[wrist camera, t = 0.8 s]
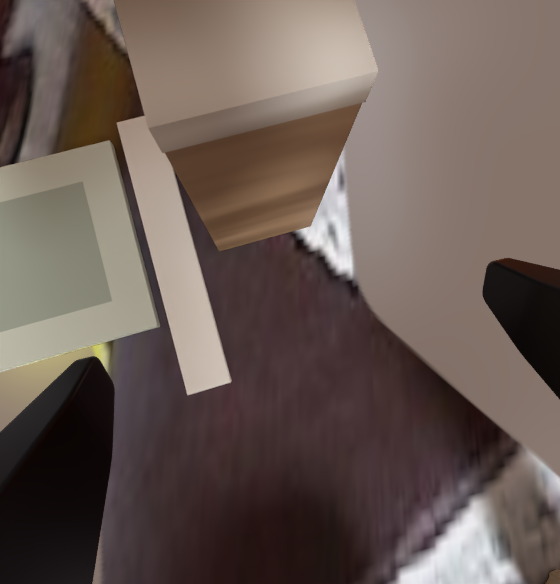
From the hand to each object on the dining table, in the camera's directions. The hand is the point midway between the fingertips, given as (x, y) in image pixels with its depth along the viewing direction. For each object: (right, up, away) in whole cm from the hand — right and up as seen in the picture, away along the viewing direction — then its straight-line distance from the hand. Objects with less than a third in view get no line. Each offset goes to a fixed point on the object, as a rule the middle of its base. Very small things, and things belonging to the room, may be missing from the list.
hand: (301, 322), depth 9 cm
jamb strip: (-7, +3, +13) cm, 15 cm away
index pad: (-13, +3, +13) cm, 19 cm away
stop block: (-2, +6, +14) cm, 15 cm away
